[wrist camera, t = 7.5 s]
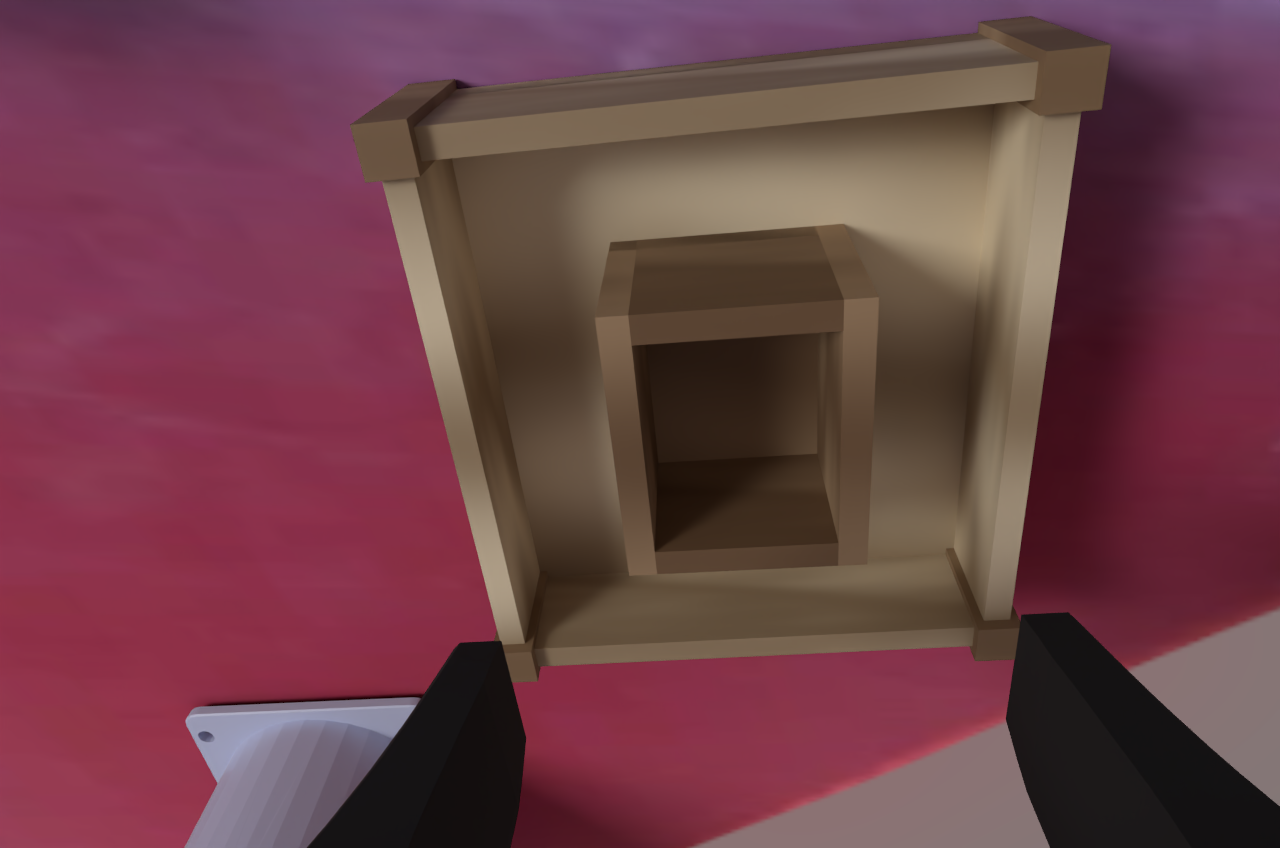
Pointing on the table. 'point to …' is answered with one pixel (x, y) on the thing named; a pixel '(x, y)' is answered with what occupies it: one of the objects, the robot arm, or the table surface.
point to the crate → (738, 202)
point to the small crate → (740, 398)
